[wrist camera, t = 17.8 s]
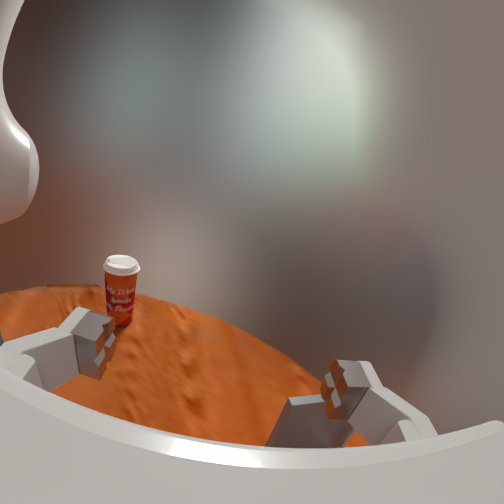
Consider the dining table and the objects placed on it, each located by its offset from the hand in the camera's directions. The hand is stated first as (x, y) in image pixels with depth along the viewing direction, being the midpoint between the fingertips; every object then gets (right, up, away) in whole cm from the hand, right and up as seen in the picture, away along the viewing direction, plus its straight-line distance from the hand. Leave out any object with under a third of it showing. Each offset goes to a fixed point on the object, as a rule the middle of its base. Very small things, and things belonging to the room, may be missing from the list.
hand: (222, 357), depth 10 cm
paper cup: (-28, -11, +49) cm, 58 cm away
